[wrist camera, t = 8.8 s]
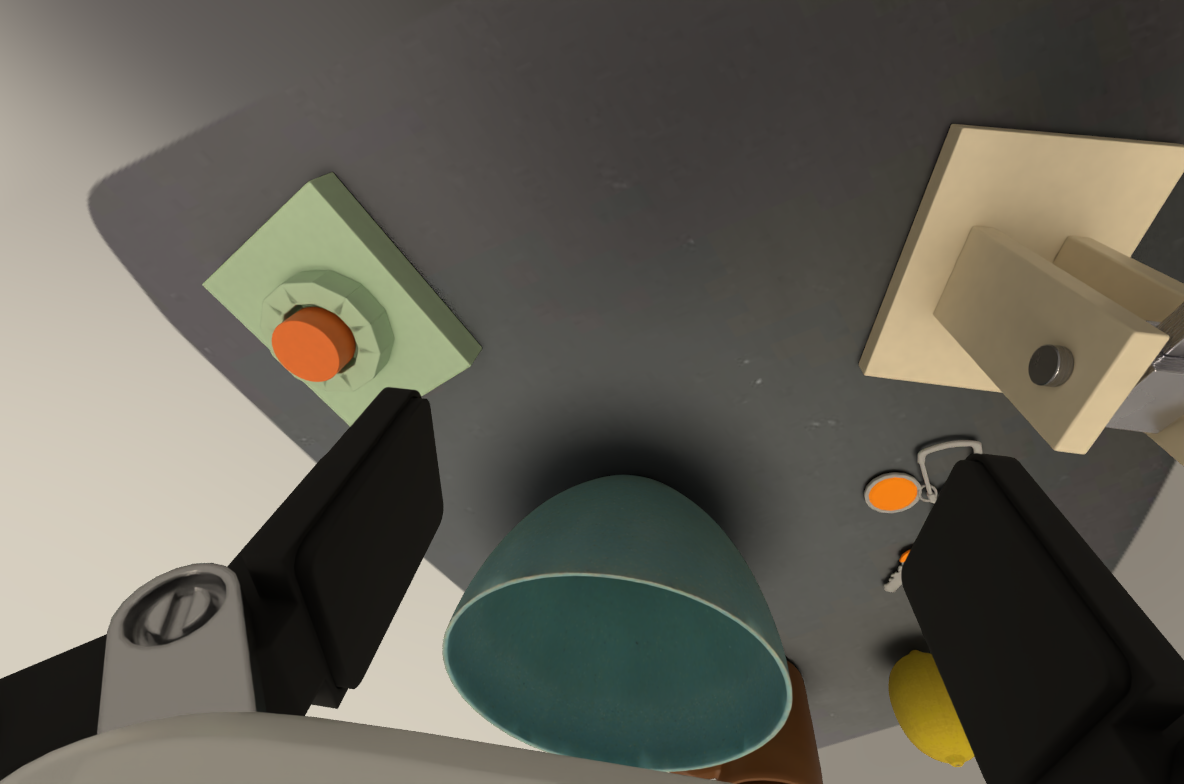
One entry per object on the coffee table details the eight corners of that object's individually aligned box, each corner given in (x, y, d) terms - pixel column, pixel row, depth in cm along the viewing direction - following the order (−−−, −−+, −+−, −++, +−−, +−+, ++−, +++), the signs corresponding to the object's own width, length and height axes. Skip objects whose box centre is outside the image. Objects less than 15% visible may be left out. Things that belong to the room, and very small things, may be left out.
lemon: (895, 678, 44) (932, 791, 38) (862, 642, 43) (896, 754, 36) (967, 660, 42) (1020, 777, 35) (936, 620, 40) (986, 736, 34)
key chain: (857, 452, 33) (861, 461, 32) (998, 429, 31) (1005, 438, 30) (876, 589, 39) (879, 599, 38) (994, 577, 37) (1000, 588, 36)
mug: (652, 678, 49) (646, 799, 41) (670, 629, 45) (667, 753, 37) (786, 706, 49) (805, 834, 41) (816, 659, 45) (844, 792, 37)
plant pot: (634, 630, 46) (621, 800, 36) (456, 510, 41) (381, 668, 31) (819, 528, 37) (871, 716, 27) (620, 360, 32) (591, 512, 22)
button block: (228, 270, 32) (176, 297, 29) (332, 171, 28) (286, 189, 25) (374, 415, 37) (344, 453, 34) (482, 347, 33) (460, 383, 30)
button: (278, 327, 30) (257, 341, 28) (318, 294, 28) (298, 308, 27) (328, 376, 31) (311, 392, 30) (369, 347, 30) (353, 363, 28)
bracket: (950, 123, 23) (1142, 186, 14) (1176, 143, 23) (1549, 224, 13) (857, 364, 30) (942, 523, 20) (1030, 385, 29) (1204, 561, 20)
